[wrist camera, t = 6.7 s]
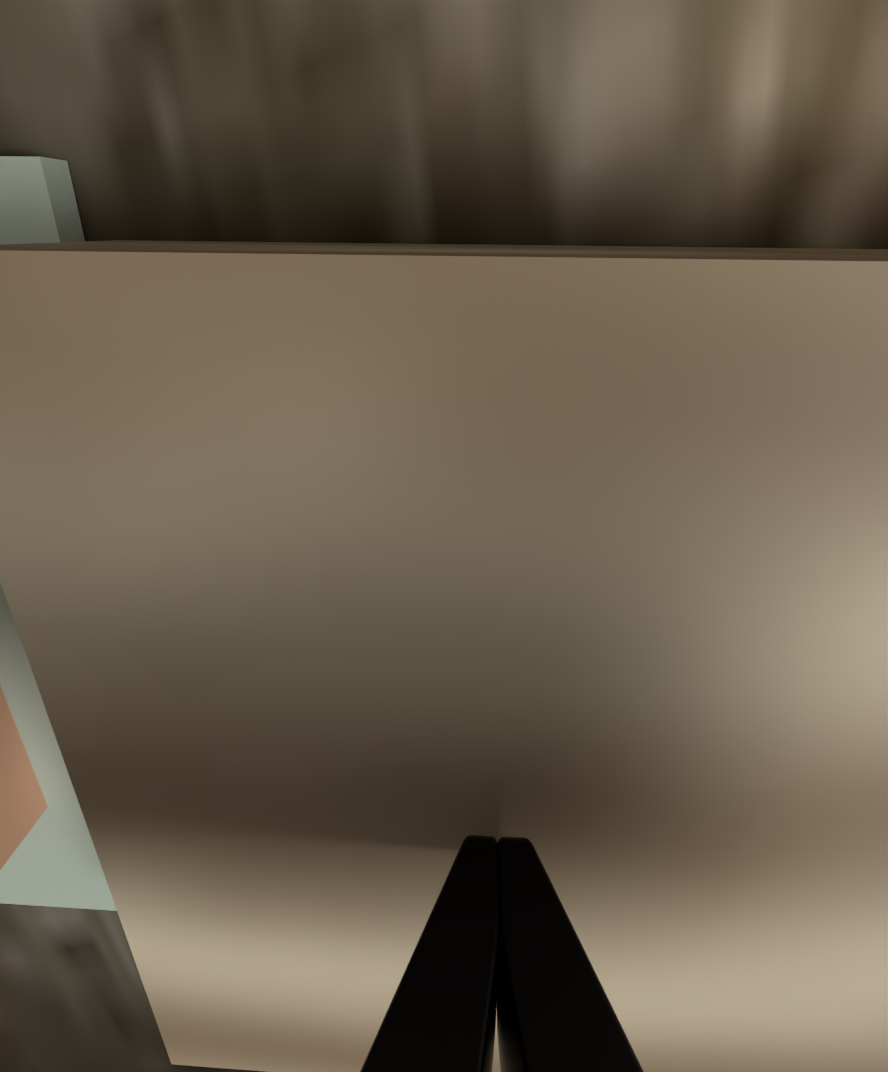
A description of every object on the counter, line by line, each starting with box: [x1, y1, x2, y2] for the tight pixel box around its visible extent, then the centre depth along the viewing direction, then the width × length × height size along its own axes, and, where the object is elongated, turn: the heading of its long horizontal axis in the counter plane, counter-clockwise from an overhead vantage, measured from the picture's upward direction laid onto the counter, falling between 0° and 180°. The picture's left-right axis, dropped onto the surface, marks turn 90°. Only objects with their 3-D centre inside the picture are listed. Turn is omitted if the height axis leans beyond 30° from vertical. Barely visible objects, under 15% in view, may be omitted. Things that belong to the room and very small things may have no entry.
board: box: [0, 240, 888, 1072], centre depth 10 cm, size 14×16×4 cm
